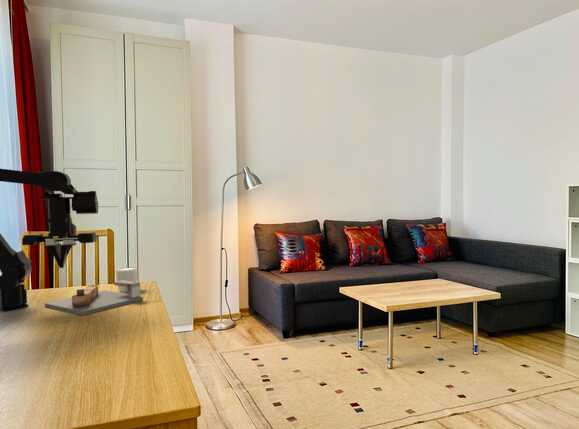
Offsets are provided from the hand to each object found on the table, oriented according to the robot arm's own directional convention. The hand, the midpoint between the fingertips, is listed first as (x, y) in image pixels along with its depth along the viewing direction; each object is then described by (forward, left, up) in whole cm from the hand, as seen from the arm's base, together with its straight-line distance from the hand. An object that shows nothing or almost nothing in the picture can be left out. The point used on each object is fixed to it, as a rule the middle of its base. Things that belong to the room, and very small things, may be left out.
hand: (61, 267), depth 129 cm
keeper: (+13, -13, -11) cm, 21 cm away
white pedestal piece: (+22, 0, -11) cm, 24 cm away
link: (+3, -7, -9) cm, 12 cm away
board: (+5, -8, -11) cm, 14 cm away
